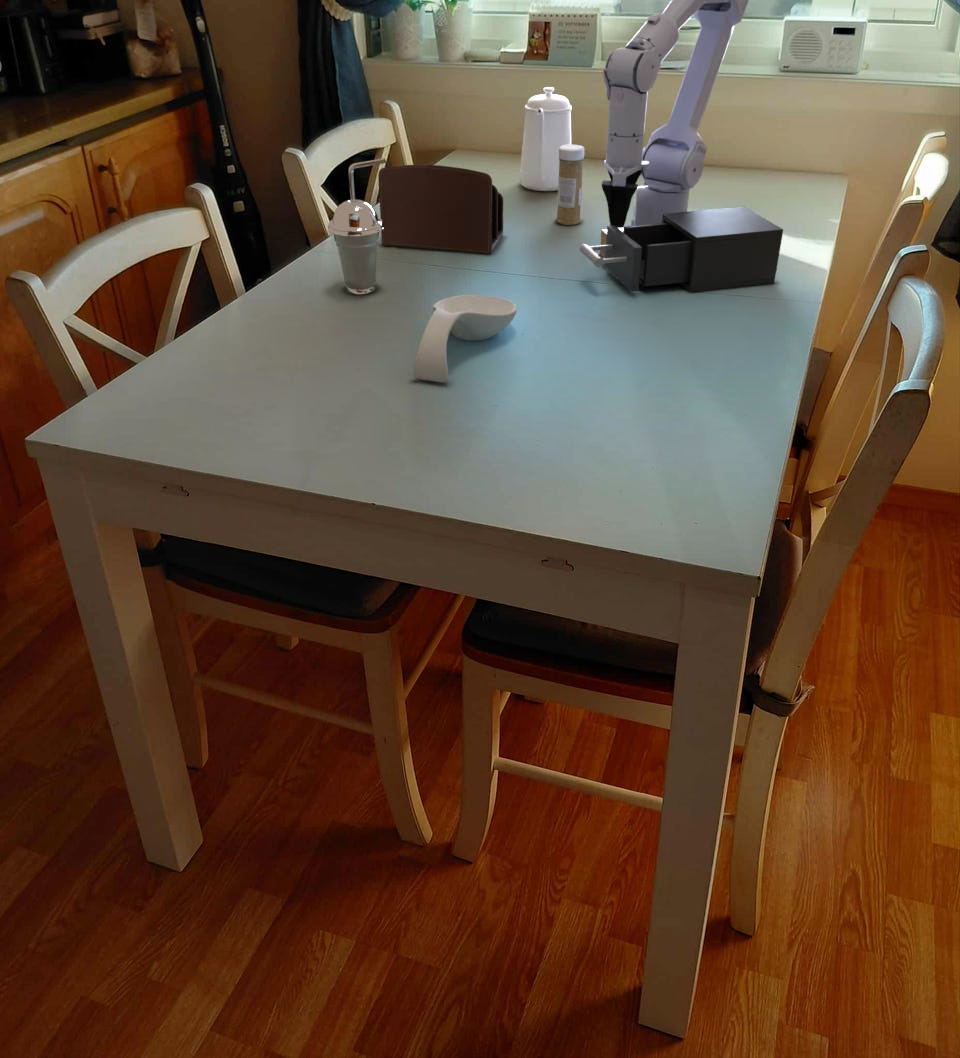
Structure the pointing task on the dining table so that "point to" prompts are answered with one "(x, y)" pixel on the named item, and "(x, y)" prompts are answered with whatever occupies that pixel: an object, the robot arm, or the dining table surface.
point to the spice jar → (570, 184)
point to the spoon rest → (459, 329)
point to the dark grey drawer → (644, 255)
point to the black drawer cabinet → (728, 247)
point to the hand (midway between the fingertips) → (619, 219)
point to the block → (604, 241)
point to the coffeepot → (544, 140)
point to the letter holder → (440, 208)
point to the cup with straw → (357, 238)
